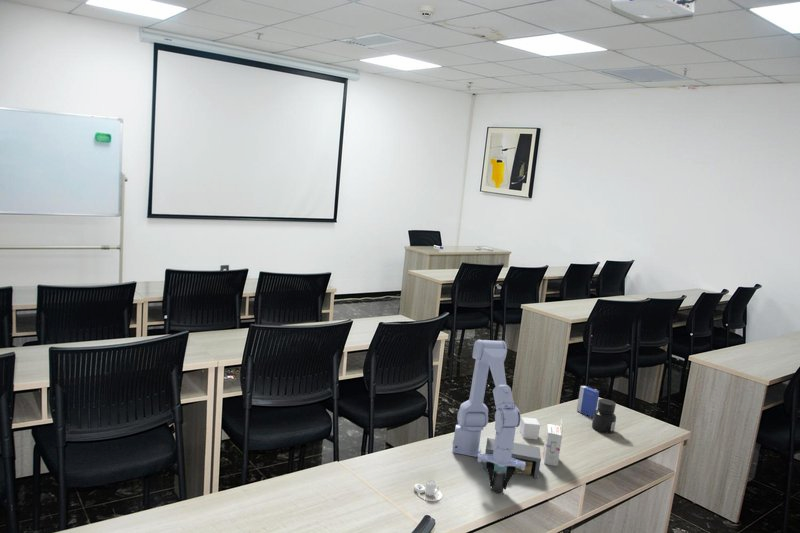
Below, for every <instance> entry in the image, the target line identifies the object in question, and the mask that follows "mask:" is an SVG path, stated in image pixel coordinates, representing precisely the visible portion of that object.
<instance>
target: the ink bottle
mask: <svg viewBox="0 0 800 533" xmlns="http://www.w3.org/2000/svg"><path fill="white" fill-rule="evenodd" d="M616 405H617V402H615V401H614V400H610V399H607V398H598V403H597V409H596V411H595V412H594V415H593V417H592V422H591V427H592V429H594V430H595V431H597V432H599V431H600V432H599V433H603V432H604V434H613V433H614V432H615V428H616V422H617V415H616V414H615V411H616Z"/></svg>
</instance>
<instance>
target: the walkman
mask: <svg viewBox="0 0 800 533" xmlns="http://www.w3.org/2000/svg"><path fill="white" fill-rule="evenodd" d="M599 396H600V390H598V389H596V388H594V389H593V388H592V387H590V386H586V385H580V387H579V394H578V399H577V400H578V401H577V405H576V406H577V407H576V412H577V411H579V412H581V413H580V414H582V413H583V414H582V415H584V414H586V415H585V416H587V415H588V416H587V417H589V416H590V417H589V418H593V415H594V412H595V411H596V410H597V409H598V401H599ZM579 412H578V413H579Z"/></svg>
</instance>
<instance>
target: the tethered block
mask: <svg viewBox="0 0 800 533" xmlns="http://www.w3.org/2000/svg"><path fill="white" fill-rule="evenodd" d="M506 469H507V466H505V467H500V466H498V465H497V464H494V473H493V484H492V487H491V492H493V493H494V494H496V495H497V494H498V495H499V494H503V493H504V481H505V476H506Z"/></svg>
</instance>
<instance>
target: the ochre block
mask: <svg viewBox="0 0 800 533" xmlns="http://www.w3.org/2000/svg"><path fill="white" fill-rule="evenodd" d="M516 460H519V461H523V462H525V470H521V469H519V468H515V473H519V474H525V475H531V474H532V469H533V468H532V461H531V460H526V459H520V458H516Z"/></svg>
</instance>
